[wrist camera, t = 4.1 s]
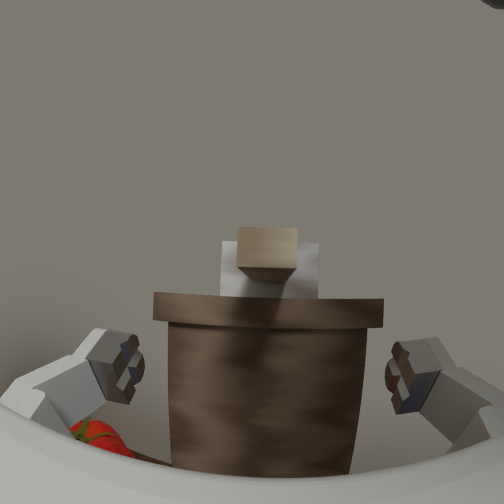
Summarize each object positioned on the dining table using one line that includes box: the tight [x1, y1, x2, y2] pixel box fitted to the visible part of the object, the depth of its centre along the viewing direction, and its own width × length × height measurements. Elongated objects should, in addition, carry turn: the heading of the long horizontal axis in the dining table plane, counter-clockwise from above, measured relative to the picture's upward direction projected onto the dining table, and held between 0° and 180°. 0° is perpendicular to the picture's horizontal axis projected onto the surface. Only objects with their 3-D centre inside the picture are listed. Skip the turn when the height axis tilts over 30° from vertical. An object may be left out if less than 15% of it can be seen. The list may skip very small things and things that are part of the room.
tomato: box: [69, 417, 137, 459], centre depth 21 cm, size 13×14×12 cm
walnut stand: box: [153, 292, 384, 478], centre depth 21 cm, size 16×7×26 cm, turn 86°
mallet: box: [220, 227, 319, 299], centre depth 20 cm, size 7×16×4 cm, turn 176°
